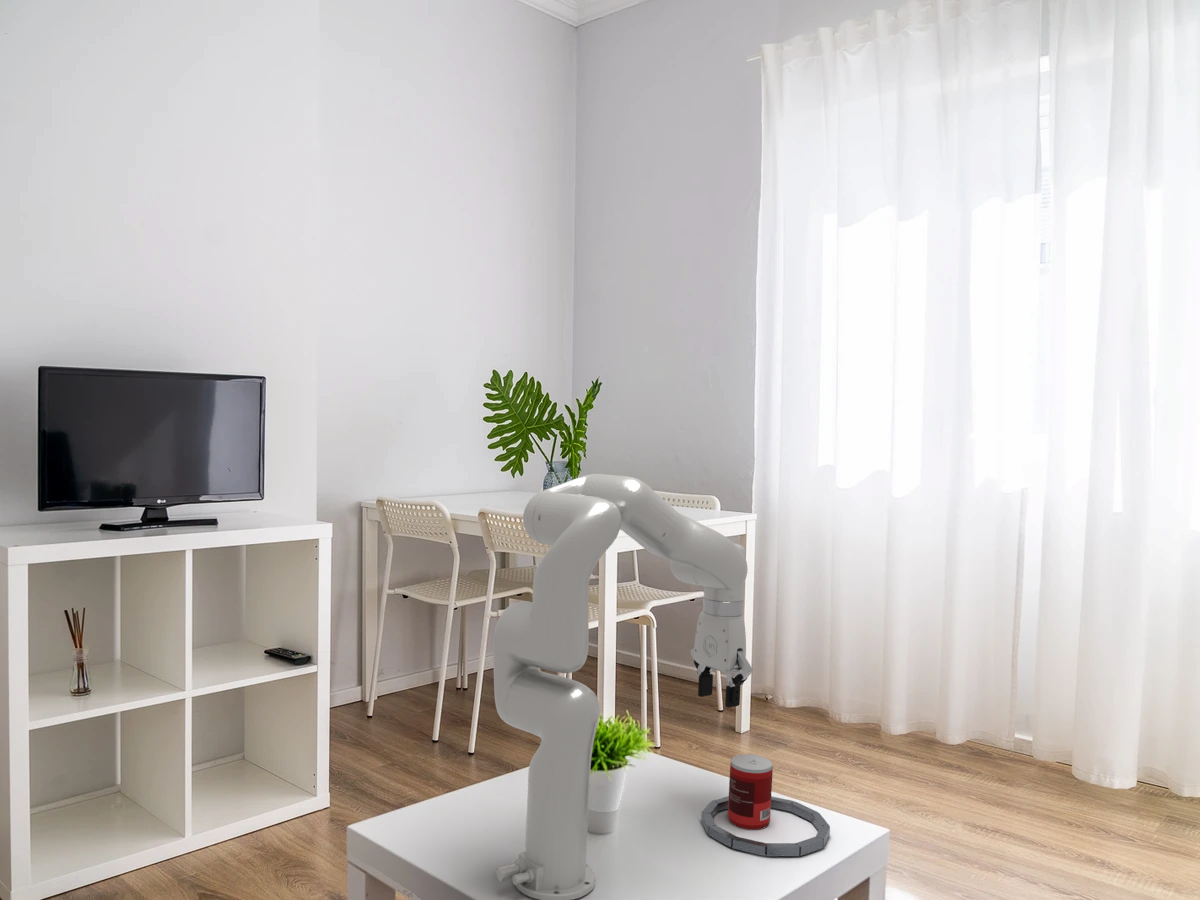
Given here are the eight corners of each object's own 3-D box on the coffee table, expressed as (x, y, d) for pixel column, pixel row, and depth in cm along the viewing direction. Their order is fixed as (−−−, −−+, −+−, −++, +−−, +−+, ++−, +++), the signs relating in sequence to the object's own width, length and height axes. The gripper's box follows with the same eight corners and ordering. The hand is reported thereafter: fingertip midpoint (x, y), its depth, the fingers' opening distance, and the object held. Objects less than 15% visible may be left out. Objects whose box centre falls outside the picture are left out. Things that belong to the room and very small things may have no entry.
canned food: (768, 813, 173) (771, 755, 173) (771, 832, 165) (774, 771, 165) (726, 810, 174) (729, 752, 173) (728, 828, 166) (731, 767, 165)
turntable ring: (766, 867, 151) (767, 849, 151) (678, 817, 169) (678, 801, 169) (853, 837, 164) (854, 820, 164) (763, 794, 181) (764, 779, 181)
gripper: (678, 601, 181) (673, 691, 181) (741, 618, 167) (736, 716, 167) (706, 598, 185) (702, 686, 186) (770, 615, 171) (765, 710, 172)
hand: (718, 700), depth 177 cm, fingers open, 6 cm apart
